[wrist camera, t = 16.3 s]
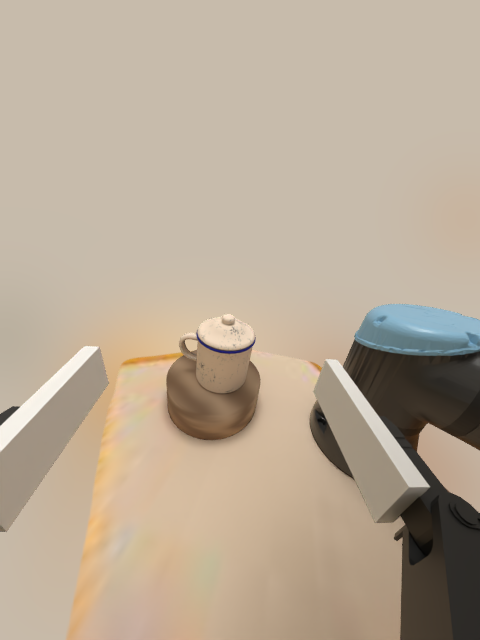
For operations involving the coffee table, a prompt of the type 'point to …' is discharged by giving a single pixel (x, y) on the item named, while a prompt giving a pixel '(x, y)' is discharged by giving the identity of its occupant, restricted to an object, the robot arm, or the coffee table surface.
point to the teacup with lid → (221, 353)
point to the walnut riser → (209, 402)
